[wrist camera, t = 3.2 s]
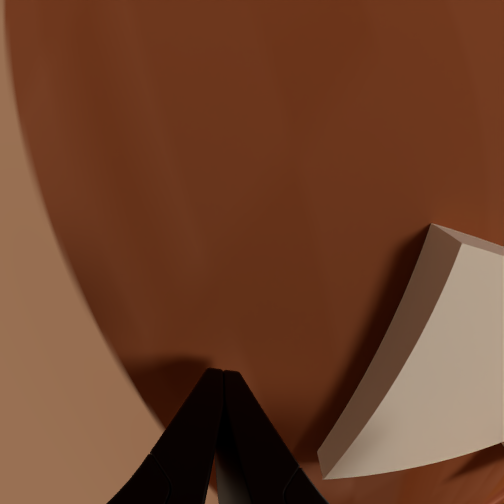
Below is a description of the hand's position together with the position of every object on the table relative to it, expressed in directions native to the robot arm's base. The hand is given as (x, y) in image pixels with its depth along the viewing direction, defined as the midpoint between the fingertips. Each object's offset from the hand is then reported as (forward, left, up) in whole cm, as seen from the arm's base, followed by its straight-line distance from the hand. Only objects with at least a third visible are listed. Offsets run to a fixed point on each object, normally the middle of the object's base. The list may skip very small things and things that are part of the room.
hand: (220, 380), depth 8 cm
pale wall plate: (0, -12, -2) cm, 12 cm away
